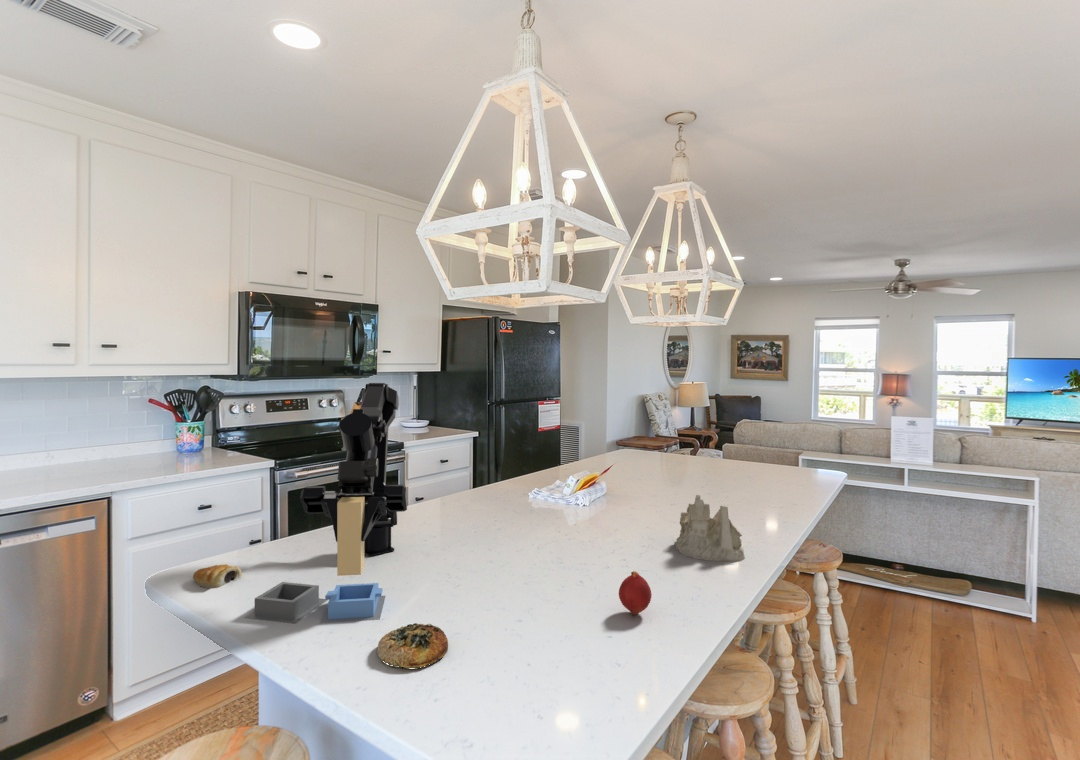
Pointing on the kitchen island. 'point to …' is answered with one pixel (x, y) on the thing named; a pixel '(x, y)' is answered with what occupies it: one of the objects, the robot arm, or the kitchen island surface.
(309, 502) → the robot arm
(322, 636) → the kitchen island surface
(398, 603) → the kitchen island surface
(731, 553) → the grey sandcastle model
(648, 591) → the onion
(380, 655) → the bread roll
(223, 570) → the pastry
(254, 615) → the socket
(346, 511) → the tall tan pillar
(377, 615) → the blue bezel socket
